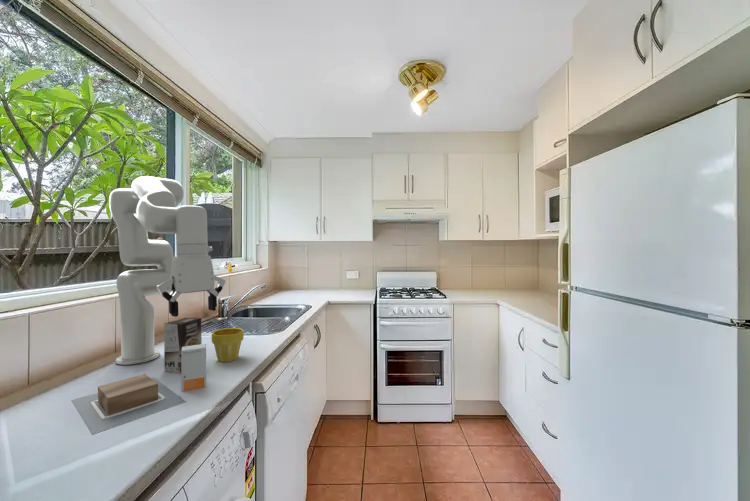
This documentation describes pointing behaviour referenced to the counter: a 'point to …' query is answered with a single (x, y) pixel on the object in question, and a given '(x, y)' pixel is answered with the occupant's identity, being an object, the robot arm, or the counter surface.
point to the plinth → (127, 394)
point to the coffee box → (179, 341)
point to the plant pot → (227, 343)
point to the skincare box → (193, 367)
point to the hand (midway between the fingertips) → (194, 313)
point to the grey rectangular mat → (101, 421)
